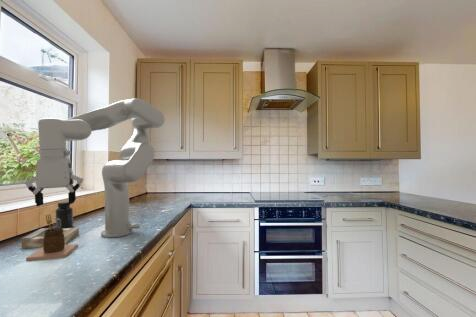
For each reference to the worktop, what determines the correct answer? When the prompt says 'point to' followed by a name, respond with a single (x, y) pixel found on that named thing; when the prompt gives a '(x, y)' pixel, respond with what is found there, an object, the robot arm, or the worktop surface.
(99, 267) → the worktop surface
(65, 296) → the worktop surface
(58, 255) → the terracotta tile
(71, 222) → the supplement bottle
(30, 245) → the wooden tray
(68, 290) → the worktop surface
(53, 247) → the utensil holder
